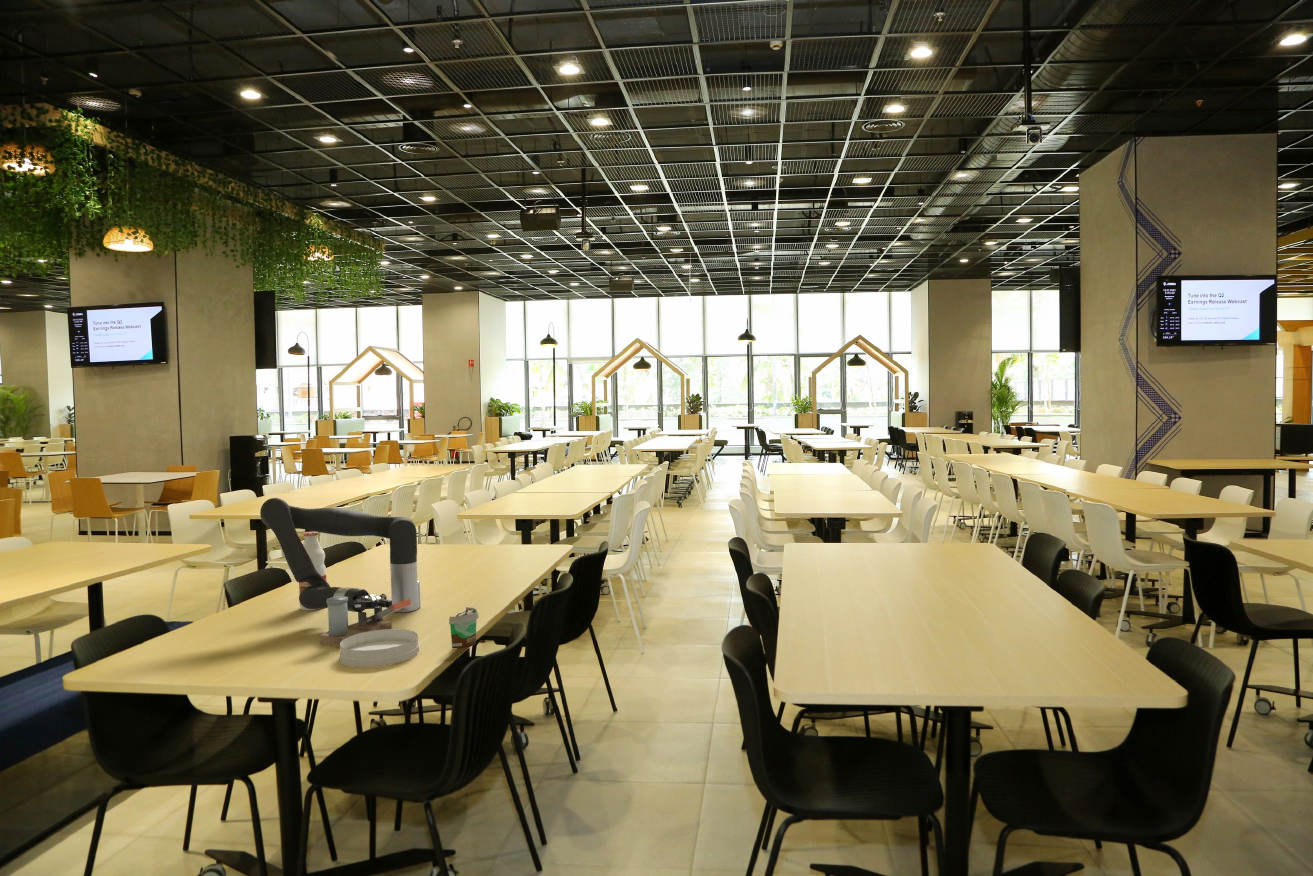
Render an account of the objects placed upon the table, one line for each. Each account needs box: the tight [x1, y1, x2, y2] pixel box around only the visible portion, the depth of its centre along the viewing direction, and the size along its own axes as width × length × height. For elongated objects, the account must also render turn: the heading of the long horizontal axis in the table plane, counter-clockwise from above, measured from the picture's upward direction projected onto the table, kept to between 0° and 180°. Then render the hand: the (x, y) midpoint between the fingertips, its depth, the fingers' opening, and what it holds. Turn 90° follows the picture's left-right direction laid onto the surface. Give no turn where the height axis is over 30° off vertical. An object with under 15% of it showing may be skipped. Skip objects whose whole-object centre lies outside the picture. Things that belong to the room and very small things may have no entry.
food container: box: [448, 607, 480, 650], centre depth 242 cm, size 12×6×10 cm, turn 168°
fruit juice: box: [298, 531, 328, 611], centre depth 293 cm, size 9×9×28 cm
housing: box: [319, 607, 393, 648], centre depth 253 cm, size 20×10×7 cm, turn 154°
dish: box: [339, 628, 420, 668], centre depth 234 cm, size 22×22×5 cm
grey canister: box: [327, 596, 349, 637], centre depth 246 cm, size 6×6×11 cm
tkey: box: [367, 599, 411, 624], centre depth 255 cm, size 7×2×16 cm
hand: (390, 604), depth 254 cm, fingers closed
